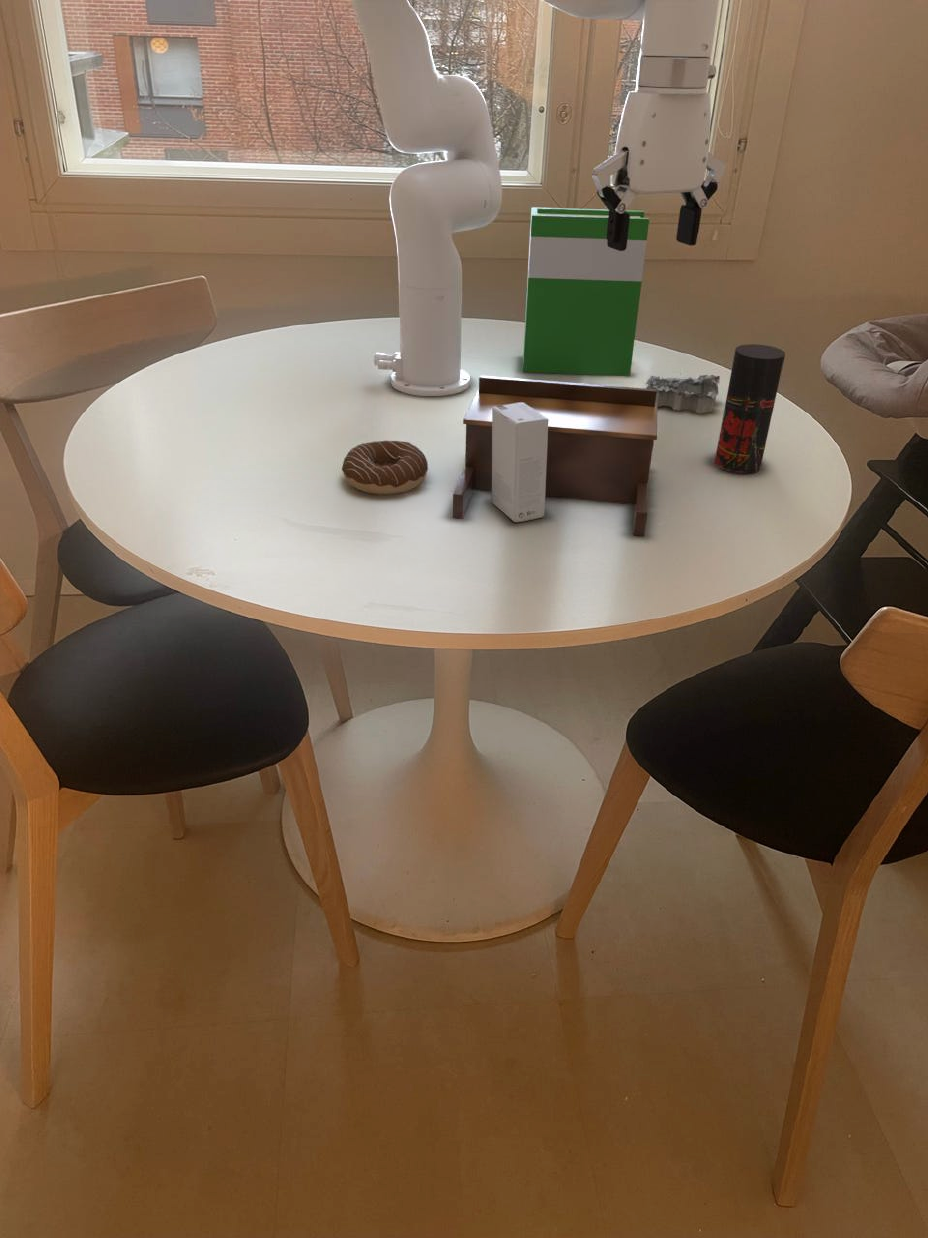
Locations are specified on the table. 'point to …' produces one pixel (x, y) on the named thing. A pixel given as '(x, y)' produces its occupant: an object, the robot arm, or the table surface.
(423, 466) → the donut
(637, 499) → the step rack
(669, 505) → the table surface
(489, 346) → the table surface
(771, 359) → the deodorant
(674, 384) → the egg carton
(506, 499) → the cosmetic box
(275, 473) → the table surface
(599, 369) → the hardback book
